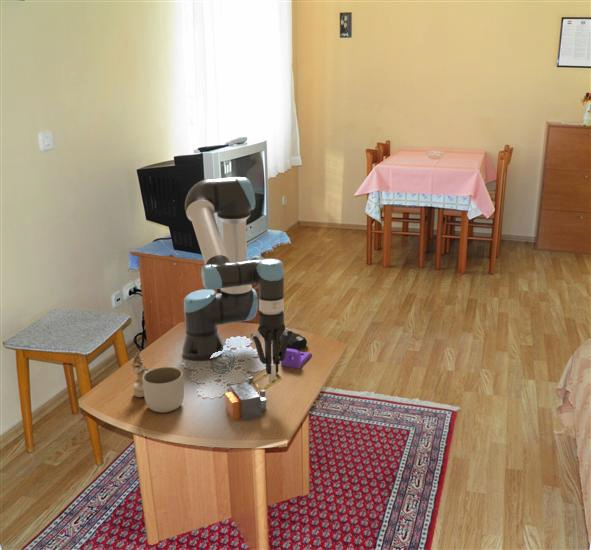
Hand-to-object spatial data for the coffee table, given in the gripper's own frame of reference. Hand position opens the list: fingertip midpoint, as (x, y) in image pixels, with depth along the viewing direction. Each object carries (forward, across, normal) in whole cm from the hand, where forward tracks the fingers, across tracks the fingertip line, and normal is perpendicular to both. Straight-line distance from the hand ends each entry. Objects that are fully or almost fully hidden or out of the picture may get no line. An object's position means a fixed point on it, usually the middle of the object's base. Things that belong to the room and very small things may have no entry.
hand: (272, 382), depth 204 cm
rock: (+7, +20, +42) cm, 47 cm away
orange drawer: (+8, -7, 0) cm, 11 cm away
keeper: (0, -5, 0) cm, 5 cm away
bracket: (+8, +20, +27) cm, 34 cm away
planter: (+9, -31, +14) cm, 35 cm away
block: (+8, -9, 0) cm, 12 cm away
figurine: (+9, -35, +25) cm, 44 cm away
